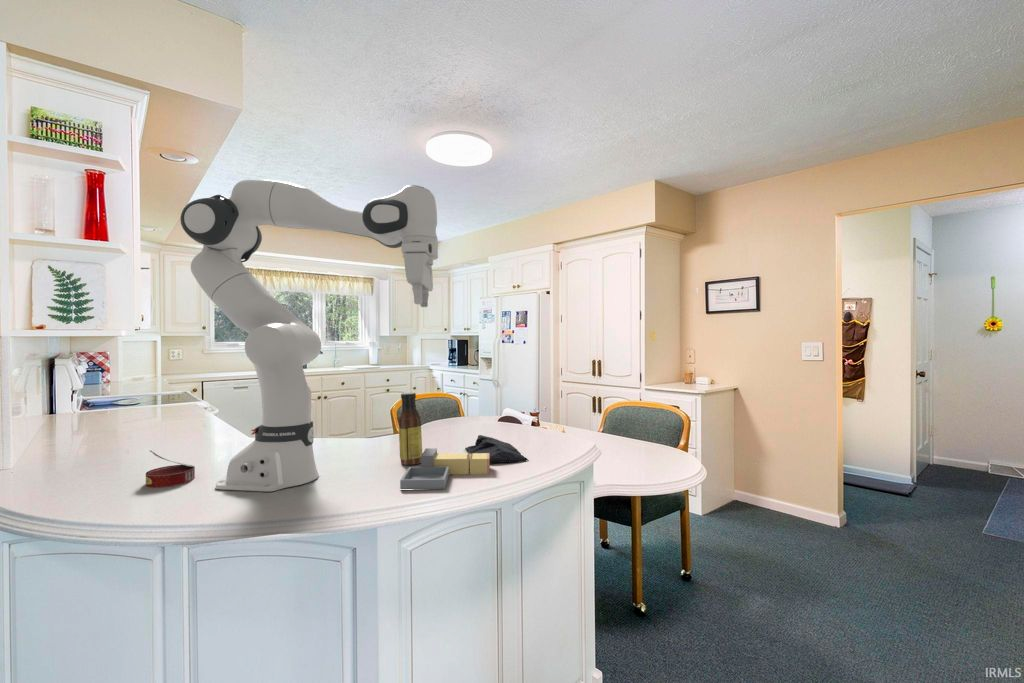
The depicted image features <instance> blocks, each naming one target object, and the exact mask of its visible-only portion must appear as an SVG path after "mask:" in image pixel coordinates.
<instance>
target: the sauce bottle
mask: <svg viewBox="0 0 1024 683" xmlns="http://www.w3.org/2000/svg"><path fill="white" fill-rule="evenodd" d="M400 399H401V403H402V406H401V411H400V414H399V417H398V441H399V459H400V463H401V465H404V466H415V465H419V464H421V455H422V454H423V438H422V424H421V423H422V421H421V416H420V414H419V413H418V410H417V405H416V399H417V394H416V392H402V393H401V394H400Z"/></svg>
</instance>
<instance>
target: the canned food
mask: <svg viewBox="0 0 1024 683" xmlns="http://www.w3.org/2000/svg"><path fill="white" fill-rule="evenodd" d="M149 452H150V453H152V454H153V455H154V456H155V457H157V458H159V459H162V460H165V461H168V462H170V463H174V464H175V465H167V466H161V467H158V468H157V467H156V468H153V469H151V470H148V471H146V472H145V486H146V487H147V488H153V489H154V488H169V487H174V486H178V485H182V484H187V483H189V482H191V481H194V479H195V476H196V474H195V472H196V471H195V470H196V469H195V465H192V464H186V463H181V462H177V461H174V460H170V459H167V458H165V457H162V456H160V455H158V454H157V453H156V452H154V451H152V450H149Z"/></svg>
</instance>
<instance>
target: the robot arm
mask: <svg viewBox="0 0 1024 683" xmlns="http://www.w3.org/2000/svg"><path fill="white" fill-rule="evenodd" d="M179 220H180V224H181V227H182V229H183V231H184V232H185V234H187V236H188V237H189V238H191V239H192V240H193V241H194V242H196V243H198V244H200V245H203V246H202V250H201V251H200V252H199V253H197V254H196V255H195V256H194V257H193V259H192V260H191V263H190V271H191V273H192V275H193V277H194V278H195V280H196V283H197V284H198V285H199V287H200V288H201V289H202V290H203V291H204V294H206V296H207V297H208V298H209V299H210V300H211V301H212V302H213V303H214V304H215V305H216V306H217V308H218V309H220V311H221V312H222V313H223V314H224V315H225V316H226V317H227V318H228V319H229V321H231V323H232V324H233V325H234V326H235V327H237V328H239V329H240V330H243V331H245V333H247V334H248V335H247V336H246V339H245V340H244V341H245V342H244V351H245V354H246V356H247V358H248V360H249V361H250V362H251V363H252V364H253V366H254V369H255V372H256V375H257V379H258V383H259V388H260V395H261V418H262V419H261V422H262V424H260V425H258V426H257V427H255V428H254V429H251V430H250V431H251V435H254V436H255V437H254V440H253V441H252V442H251V443H249V444H248V445H247V446H246V447H244V448H243V449H241V450H240V451H239V452H238V453H236V454H235V455H234V456H233V457H232V458H231V459H230V460H229V463H228V466H227V472H226V475H225V476H223V477H222V478H220V479H218V480H217V482H216V483H215V490H229V491H247V492H248V491H250V492H268V493H270V492H277V491H280V490H282V489H286V488H290V487H291V488H292V487H296V486H300V485H304V484H307V483H310V482H312V481H315V480H316V479H317V478H319V476H320V474H319V471H318V469H317V464H316V461H315V455H314V454H315V453H314V447H313V443H314V438H315V437H314V436H315V432H314V431H315V430H314V421H312V390H311V388H310V386H309V385H308V383H307V379H306V376H305V370H304V366H306V365H308V364H310V363H311V362H312V361H314V360H316V358H317V357H318V356H319V354H320V353H321V350H322V342H321V338H320V336H319V335H318V333H317V332H316V331H315V330H313V329H311V328H310V327H308V325H307V324H305V323H304V322H303V321H302V320H301V319H299V317H297V316H296V315H295V314H294V313H293V312H292V311H290V310H289V309H288V308H286V307H285V305H283V304H282V303H280V302H279V301H278V300H277V299H276V298H275V297H274V296H273V295H272V294H271V293H270V291H268V290H267V289H266V288H265V286H264V285H263V284H262V283H261V282H260V281H259V280H258V279H257V278H256V277H255V276H254V275H253V274H252V273H251V272H250V270H249V269H248V268H246V266H245V265H244V264H243V263H245V262H247V261H249V260H250V258H251V256H252V255H253V254H254V253H255V252H256V251H257V250H258V249H259V247H260V245H261V243H262V240H263V236H262V231H261V229H260V227H259V226H267V225H268V226H273V227H279V228H287V229H300V230H317V231H329V232H337V233H344V234H350V235H354V236H360V237H366V238H369V239H373V240H375V241H377V242H378V243H380V244H381V245H383V246H385V247H386V248H389V249H398V248H401V253H402V259H403V260H404V261H403V262H404V271H405V277H406V281H407V283H408V284H409V285H411V286H412V287H411V289H412V293H413V303H414V304H415V305H419V306H420V307H421V308H428V307H429V296H430V292H433V289H434V288H433V287H434V283H433V280H434V279H433V265H434V261H435V260H437V259H438V258H439V251H438V249H439V248H438V247H439V245H438V235H437V231H436V230H437V226H438V211H437V202H436V197H435V196H434V194H433V192H431V190H430V189H428V188H426V187H424V186H420V185H415V184H411V185H406V186H404V187H403V188H402V189H401V190H399V191H398V192H396V193H393V194H390V195H388V196H387V195H386V196H384V197H377V198H374V199H371V200H369V202H368V203H367V204H365V206H364V208H363V210H362V211H359V210H351V209H347V208H343V207H340V206H338V205H335V204H333V203H332V202H330V201H328V200H327V199H325V198H323V197H321V196H320V195H319V194H317V193H316V192H314V191H313V190H312V189H310V188H307V187H305V186H301V185H299V184H296V183H292V182H287V181H281V180H272V179H271V180H270V179H244V180H241V181H238V182H237V183H236V184H235V185H234V186H233V188H232V190H231V195H230V197H227V196H225V195H224V194H216V195H212V196H210V197H204V198H198V199H195V200H193V201H190V202H189V203H188V204H186V205H185V206H184V207H183V209H182V210H181V214H180V219H179Z"/></svg>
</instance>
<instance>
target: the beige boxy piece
mask: <svg viewBox="0 0 1024 683" xmlns="http://www.w3.org/2000/svg"><path fill="white" fill-rule="evenodd" d="M470 455H471V453H470V452H466V453H464V452H460V453H459V452H458V453H456V452H453V453H449V452H448V453H444V452H443V453H438V448H435V447H434V448H432V447H430V448H425V449H424V451H422V455H421V463H420V467H433V466H449V474H453V475H470V470H469V469H470Z"/></svg>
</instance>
